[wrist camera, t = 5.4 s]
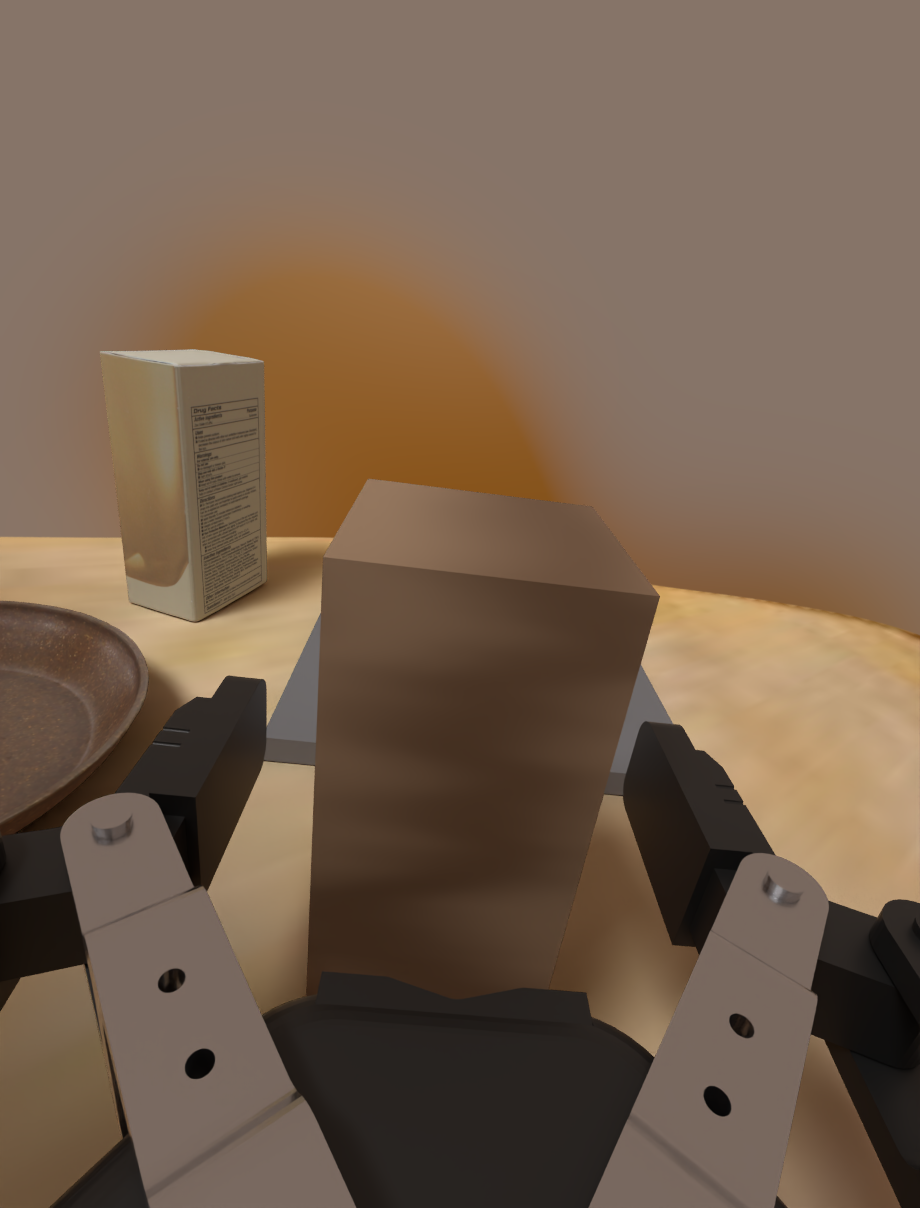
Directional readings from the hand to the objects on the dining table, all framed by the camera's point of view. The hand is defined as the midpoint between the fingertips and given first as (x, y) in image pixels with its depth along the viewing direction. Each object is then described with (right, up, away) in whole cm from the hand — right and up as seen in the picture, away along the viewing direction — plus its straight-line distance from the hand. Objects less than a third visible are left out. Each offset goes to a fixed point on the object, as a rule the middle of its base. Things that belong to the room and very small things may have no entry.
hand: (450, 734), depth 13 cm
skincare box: (-14, +3, +20) cm, 25 cm away
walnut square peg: (-1, -7, +2) cm, 7 cm away
